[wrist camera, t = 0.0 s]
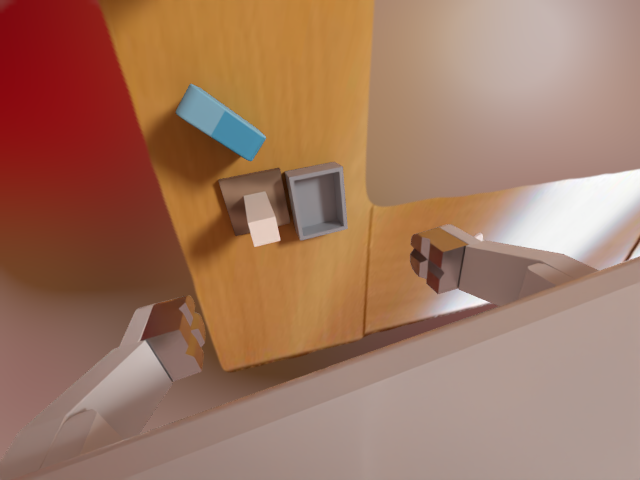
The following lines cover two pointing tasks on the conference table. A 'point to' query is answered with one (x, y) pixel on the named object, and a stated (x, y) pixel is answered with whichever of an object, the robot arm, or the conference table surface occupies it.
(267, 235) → the strut
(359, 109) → the conference table surface
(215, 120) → the data package
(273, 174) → the stud plate
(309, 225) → the bin
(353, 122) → the conference table surface
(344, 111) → the conference table surface
